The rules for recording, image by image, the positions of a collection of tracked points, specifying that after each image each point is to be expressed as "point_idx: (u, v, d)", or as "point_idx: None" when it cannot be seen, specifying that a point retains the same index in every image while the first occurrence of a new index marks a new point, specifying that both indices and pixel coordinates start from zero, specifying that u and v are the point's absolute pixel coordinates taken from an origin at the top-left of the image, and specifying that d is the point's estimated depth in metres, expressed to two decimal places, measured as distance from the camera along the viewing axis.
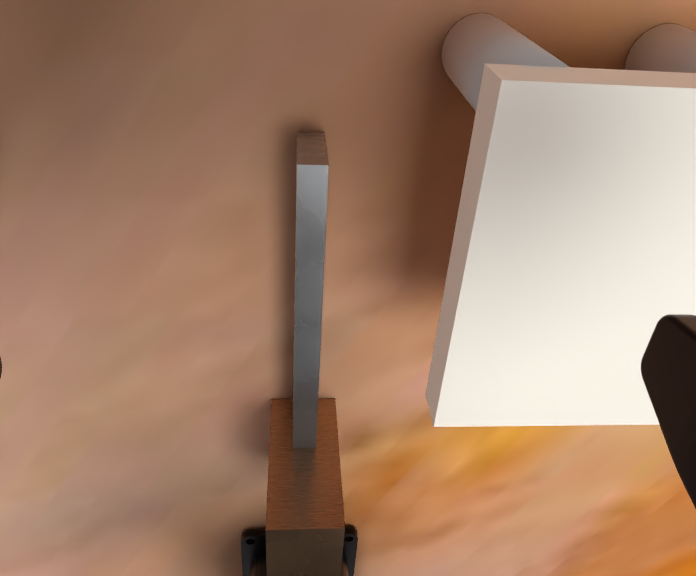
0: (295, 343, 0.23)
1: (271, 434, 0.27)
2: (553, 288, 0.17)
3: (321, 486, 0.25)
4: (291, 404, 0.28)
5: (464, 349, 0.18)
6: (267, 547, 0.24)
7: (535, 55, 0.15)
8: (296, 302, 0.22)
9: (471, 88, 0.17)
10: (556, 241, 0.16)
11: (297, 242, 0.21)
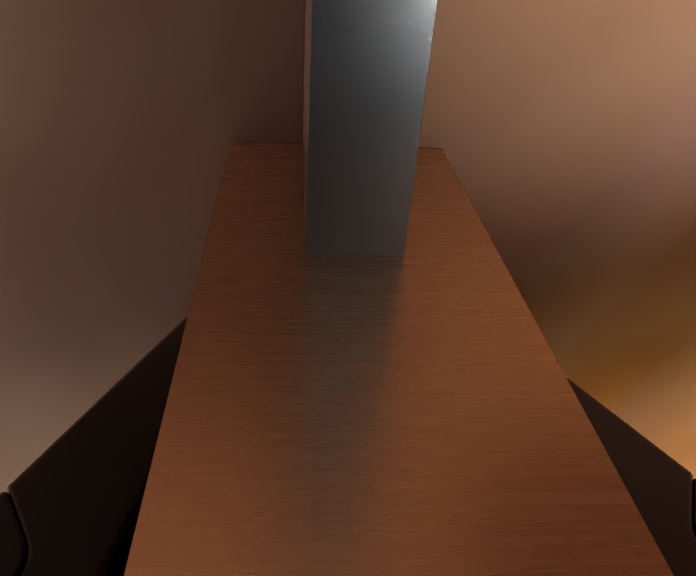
0: None
1: (218, 214, 0.07)
2: None
3: (467, 397, 0.04)
4: (298, 153, 0.08)
5: None
6: None
7: None
8: None
9: None
10: None
11: None
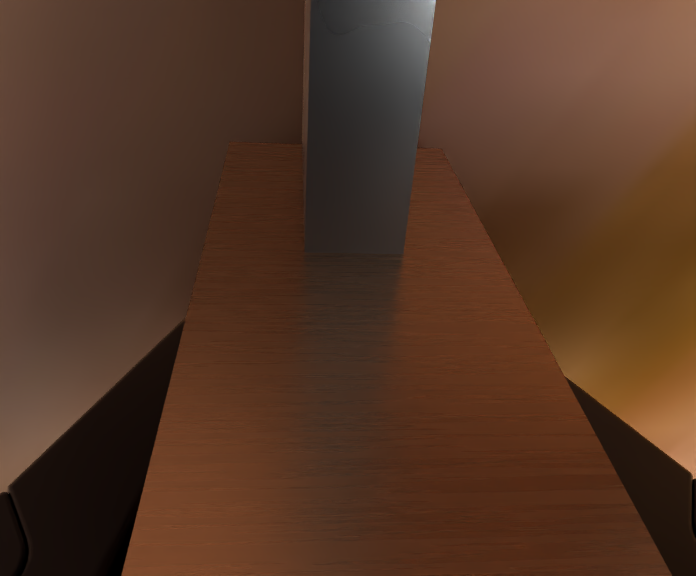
0: None
1: (217, 214, 0.07)
2: None
3: (466, 398, 0.04)
4: (297, 153, 0.08)
5: None
6: None
7: None
8: None
9: None
10: None
11: None
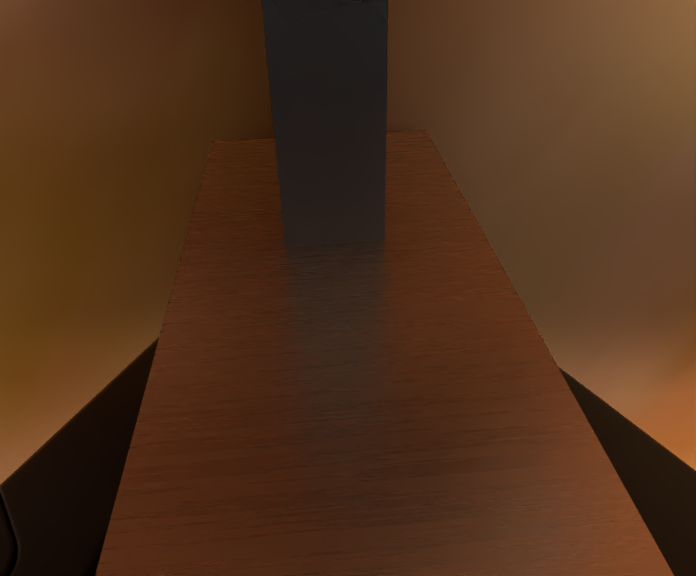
0: None
1: (197, 214, 0.07)
2: None
3: (446, 379, 0.04)
4: None
5: None
6: None
7: None
8: None
9: None
10: None
11: None
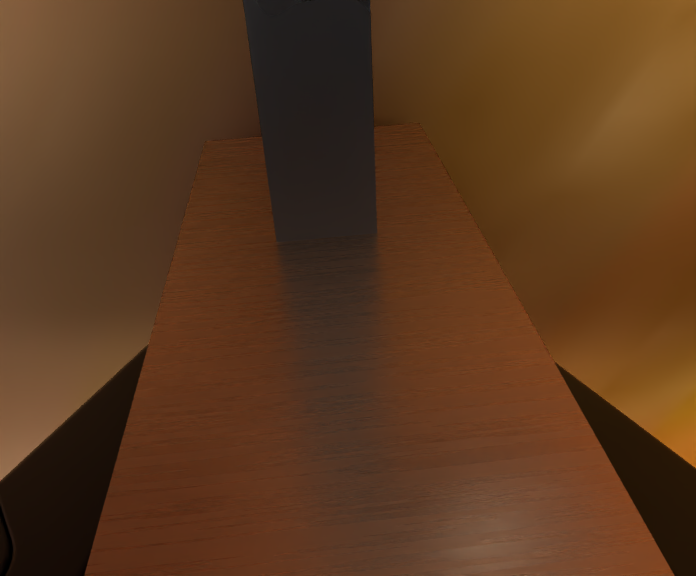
0: None
1: (190, 214, 0.07)
2: None
3: (437, 371, 0.04)
4: None
5: None
6: None
7: None
8: None
9: None
10: None
11: None
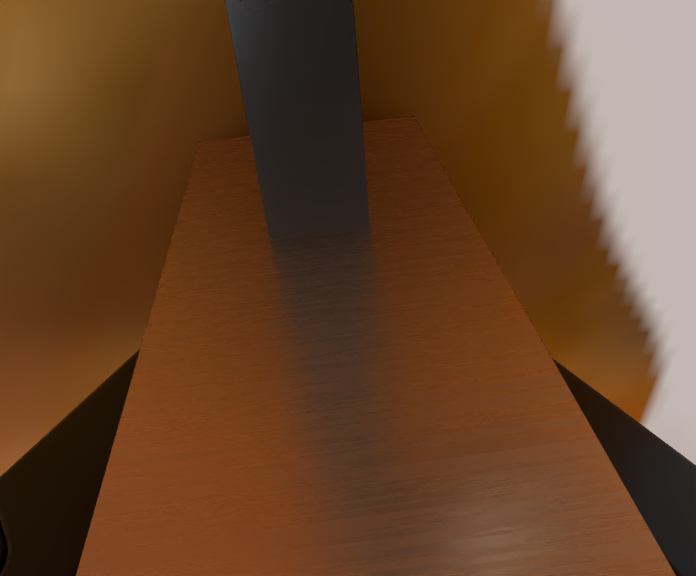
0: None
1: (183, 214, 0.07)
2: None
3: (429, 364, 0.04)
4: None
5: None
6: None
7: None
8: None
9: None
10: None
11: None
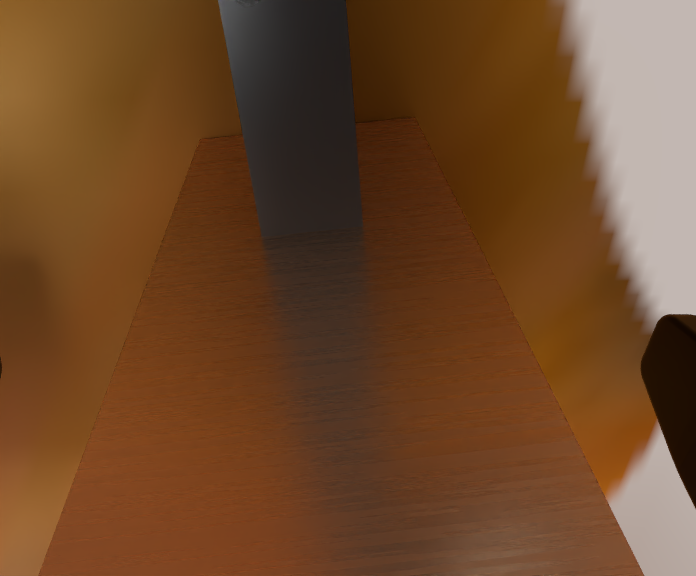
0: None
1: (178, 210, 0.07)
2: None
3: (412, 363, 0.04)
4: None
5: None
6: None
7: None
8: None
9: None
10: None
11: None
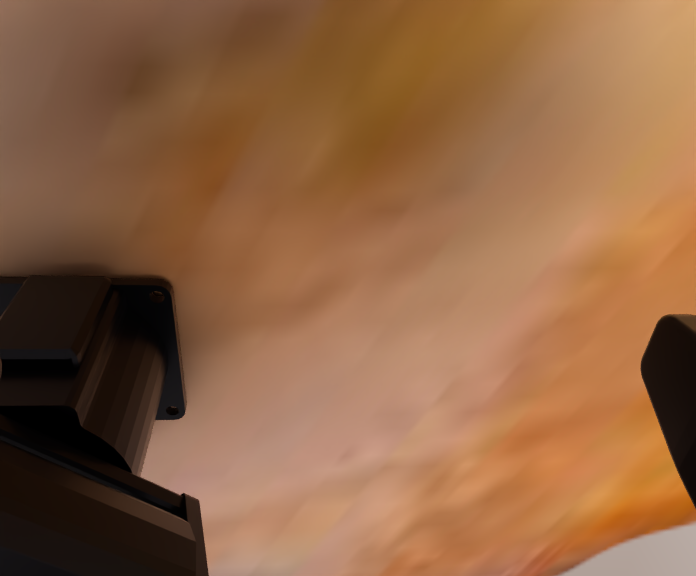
0: None
1: None
2: None
3: None
4: None
5: None
6: None
7: None
8: None
9: None
10: None
11: None
